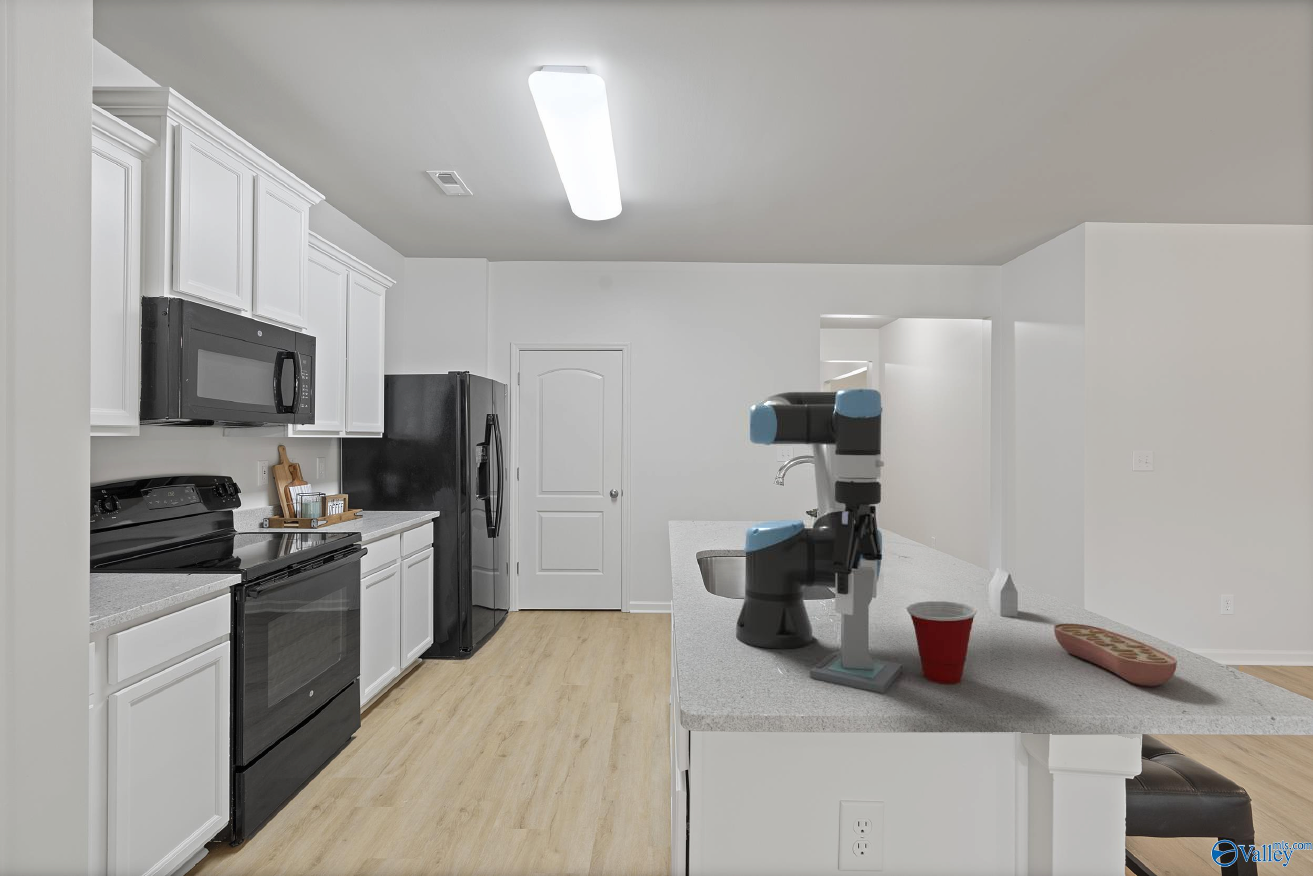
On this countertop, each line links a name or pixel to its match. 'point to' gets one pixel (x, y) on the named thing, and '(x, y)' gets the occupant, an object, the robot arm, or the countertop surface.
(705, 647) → the countertop surface
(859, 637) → the vintage mobile phone
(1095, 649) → the anatomical model
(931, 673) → the plastic cup
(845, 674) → the pad
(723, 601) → the countertop surface
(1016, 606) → the white house shaped block
